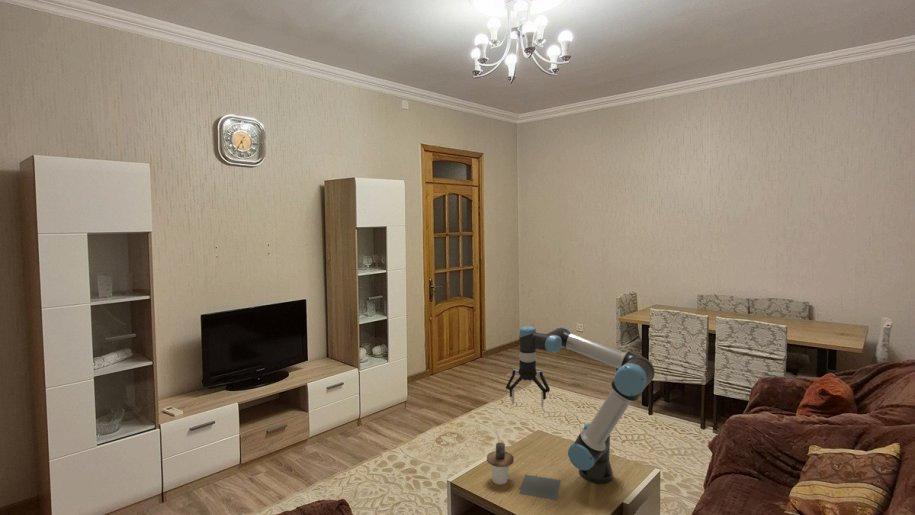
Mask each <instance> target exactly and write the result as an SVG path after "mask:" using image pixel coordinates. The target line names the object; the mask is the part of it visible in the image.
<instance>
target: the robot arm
mask: <svg viewBox="0 0 915 515" xmlns="http://www.w3.org/2000/svg"><path fill="white" fill-rule="evenodd" d="M518 338H519V341H518V342H519V351H518V352H519V353H518V354H519V360H518V361H519V364H518V365H519V370H518V369H516V368H513V369H512V374H511V376H510V378H509V380H508V382H507V384H506V385H505V389H506V390H509V397H510V398H511V405H514V404H515V388H516V386H518V384H519V383H520V382H521V381H522V380H523V381H533V382H534V383H535V384H536V386H537V387H538V388H539V390H541V395H540V396H541V397H540V398H541V399H540V400H541V401H540V402H541V403H540V404H541V406H540V407H541V408H543V407H544V400H546V399H547V393H549V392H551V391H550V390H551V388H550V386H549V384H548V382H547V379H546V378H545V376H544V371H543V370H539V371H537V368H536V367H537V361H536V360H537V352H536V350H538V351H544V352H549V353H558V352H560V350H561V349H562V348H565V349H567V350H570V351H573V352H575V353H578V354H581V355H583V356H586V357H588V358H590V359H592V360H596V361H598V362H600V363H603V364H606V365H609V366H611V367H612V368H613V367H614V368H616V369H617V371H615V374H614V378H613V380H612V381H611V384H610V387H611V391H610V392H609V394H608V395H607V397H606V398H605V400H604V402H603V403H602V405H601V407H600V408H599V409H598V412H597V413H596V414H595V416H594V418H593V419H592V421H591V422H590V423H587V424H584V426H583V430H581V431H580V433H578V434H579V435H578V436H577V438H576V439H575V441H574V442H573V443H572V444H570V446H569V448H568V450H567V456H568V459H569V462H571V464H572V466H574V467H575V468H576V469H577V470H578V474H579V476H580V477H581V478H582V479H583V480H585V481H587V482H590V483H593V484H607V483H609V481H610V482H611V481H613V478H614V476H613V475H614V473H613V468H612V464H611V462H610V446H611V433H612V432H613V430H614V429H615V427H616V426H617V424H618V422H620V420H621V418H622V416H623V415H624V413H625V412H626V411H627V409H628V407H629V405H630V404H631V402H632V403H633V402H636V401H638V400H639V398H640V396H641V395H642V393H643V392H644V390H645V388H646V387H647V386H648V385H649V384H650V383H651V382H652V381H653V379H654V377H655V373H656V372H655V367H654V365H653V364H652V362H651V361H650V360H649V359H647V358H646V357H645V356H641V355H639V354H637V353H634V352H631V351H628V350H627V351H621V350H619V349H616V348H613V347H611V346H609V345H605V344H602V343H600V342H597V341H594V340H592V339H589V338H587V337H584V336H581V335H578V334H575V333H573V332H571V331H570V330H569V329H568V328H567V327H559V328H556V329H554V330H552V331H550V332H547V333H542V332H541V333H540V332H537V330H536V327H534V326H531V325H529V326H522V327H520V328H519V335H518ZM516 375H519V377H518V378H517V379H516V380H515V381H514V382H513V383H512V381H513V380H514V378H515V376H516ZM536 375H538V377H540V380H541V381H542V383H541V382H540V380H539V379H538V378H537V377H536ZM511 383H512V384H511Z"/></svg>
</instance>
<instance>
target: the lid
mask: <svg viewBox="0 0 915 515" xmlns="http://www.w3.org/2000/svg"><path fill="white" fill-rule="evenodd" d="M514 459H515V457H514V455H513V454H512V453H510V452H507V451H506V444H505V442H496V443H495V451H491V452H488V454H487V455H486V462H487V463H488V464H489V465H491V466H492V465H493V466H496V467H507V466H509V467H510V466H511V465H512V464H514V461H515V460H514Z"/></svg>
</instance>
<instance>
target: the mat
mask: <svg viewBox="0 0 915 515" xmlns="http://www.w3.org/2000/svg"><path fill="white" fill-rule="evenodd" d="M560 484H561V479H556V478H551V477H543V476H537V475H530V474H524V477H523V480H522V483H521V487H520V490H519V493H518V494H519V495H523V496H531V497H535V498H543V499H549V500H552V501H553V500H554V501H558V497H559V490H560Z"/></svg>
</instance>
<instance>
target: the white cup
mask: <svg viewBox="0 0 915 515" xmlns="http://www.w3.org/2000/svg"><path fill="white" fill-rule="evenodd" d="M509 469H510V466H507V467H496V466H493V465H491V475H492V477H491V480H492V482H493V483H494V484H497V485H504V484H508V480H509V471H510V470H509Z"/></svg>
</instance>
